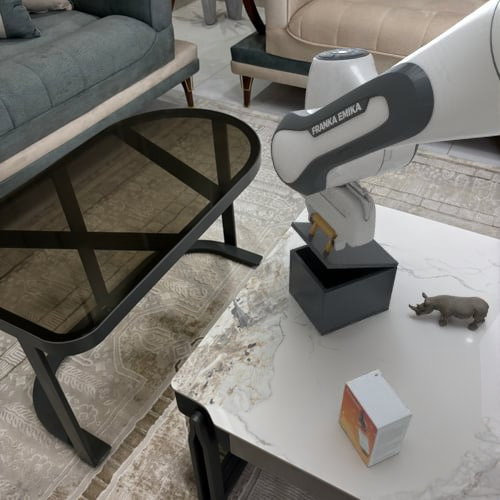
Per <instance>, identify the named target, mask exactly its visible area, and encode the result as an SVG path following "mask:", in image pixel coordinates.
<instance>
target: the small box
mask: <svg viewBox="0 0 500 500" xmlns="http://www.w3.org/2000/svg"><path fill="white" fill-rule="evenodd" d="M412 417H413V412H412V411H411V410H410V409H409V407H408V406H407V405H406V404H405V402H404V401H403V400H402V399H401V398H400V396H399V395H398V393H397V392H396V391H395V389H394V388H393V387H392V386H391V384H390V383H389V382H388V380H387V379H386V377H384V374H382V372H381V370H380V369H378V368H377V369H375V370H372V371H370V372H367V373H365V374H363V375H360V376H358V377H356V378H353V379H351V380H348V381H346V382H345V384H344V389H343V394H342V399H341V405H340V411H339V416H338V424H339V425H340V427H341V428H342V429H343V431H344V432H345V434H346V435H347V437H348V439H349V441H350V442H351V444H352V445H353V447H354V448H355V450H356V452H357V453H358V454H359V456H360V459H361V460H362V461H363V463H364V464H365V467H367V468H369V467H372V466H374V465H377V464H378V463H380V462H383V461H384V460H387V459H389V458H390V457H393V456H395V455H397V454H399V453H400V451H401V449H402V446H403V443H404V440H405V437H406V435H407V432H408V428H409V425H410V423H411V419H412Z"/></svg>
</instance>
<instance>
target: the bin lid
mask: <svg viewBox="0 0 500 500" xmlns="http://www.w3.org/2000/svg"><path fill="white" fill-rule="evenodd" d="M313 221H314V223H313V225H312V224H311V223H310V222H309V221H308V222H305V221H292V222H291V224H290V227H291V228H292V229H293V230H294V231H295V233H296V234H297V235H298V236H299V237H300V238H301V240H302V241H303V242H304V243H305V245H306V244H307V245H308V246H309V247H310V248H311V250H312V251H313V252H314V253H315V254H316V255H317V257H318V258H319V259H320V260H321V261H322V262H323V264H324V265H325V266H326V267H327V268H328V269H333V268H370V267H397V268H398V266H399V262H398V261H397V260H396V259H395V258H394V256H392V255H391V254H390V253H389V252H388V251H387V250H386V249H385V248H384V247H383V246H382V245H381V244H380V243H379V242H377V240H376V239H375V238H374V239H373V240H372V241H370V242H369V243H366V244H364V245H361V246H357V247H351V246H350V245H349V244H348V243H347V242H346V244H345V248H344V249H341V250H338V251H336V250H335V249H334V248H333V247H332V245H331V243H332V242H331V239H332V238H333V237H337V236H338V235H336V231H335V230H334V229H333V228H332V227H331V226H330V225H329V224H328V223H327V222H326V220H325V219H324V218H323V217H322V216H321V215H320V214H319V213H316V214H314V216H313Z"/></svg>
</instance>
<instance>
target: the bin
mask: <svg viewBox="0 0 500 500" xmlns="http://www.w3.org/2000/svg"><path fill="white" fill-rule="evenodd" d="M288 268H289V269H288V270H289V271H288V292H289V294H290V295H291V297H292V298H293V299H294V301H295V302H296V303H297V305H298V306H299V308H300V309H301V310H302V312H303V313H304V314H305V315H306V317H307V318H308V319H309V321H310V322H311V324H312V325H313V326H314V328H315V330H317V333H319V335H320V336H321V337H322V336H326V335H328V334H330V333H333V332H335V331H338V330H340V329H343V328H346V327H348V326H351V325H353V324H355V323H358V322H360V321H364V320H365V319H368V318H370V317H374V316H376V315H378V314H381V313H383V312H386V311H388V310H389V309H390V305H391V299H392V294H393V290H394V286H395V281H396V277H397V272H398V266H397V267H370V268H333V269H328V268H327V267H326V266H325V265H324V264H323V262H322V261H321V260H320V259H319V258H318V257H317V255H316V254H315V253H314V252H313V251H312V250H311V248H310V247H309V246H308V245H307V244H306V243H305V244H303V245H299V246H298V247H294V248H291V249H290V250H289V267H288Z"/></svg>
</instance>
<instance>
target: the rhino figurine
mask: <svg viewBox="0 0 500 500" xmlns="http://www.w3.org/2000/svg"><path fill="white" fill-rule="evenodd" d="M421 297H422V298H423V299H424V301H423V302H422V303H419V304H418V303H416V306H415V305H411V304H410V303H409V304H408V307H409V308H410V309H411V310H412V311H414V312H415V315H416V316H417V317H420V316H425V315H430V314H432V313H433V312H434V311H437V312H439V313H440V314H441V317H442V318H441V319H440V320H439V321H438V322H439V323H438V325H439V326H441V327H446V326H447V325H448V323H449V322H448V321H449V319H450V318H451V317H454V318H456V319H459V320H468V319H471V318H472V322H470V323H468V325H467V329H468V330H471V331H476V330H477V329H479V325H480V324H481V323H485V322H486V318H487V317H488V313H489V309H490V305H489V303H488V302H487V301H486V300H485V299H483V298H481V297H480V296H458V295H457V296H456V295H450V294H438V295H434V296H428V295H427V294H426V293H425V291H422V292H421Z"/></svg>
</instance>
